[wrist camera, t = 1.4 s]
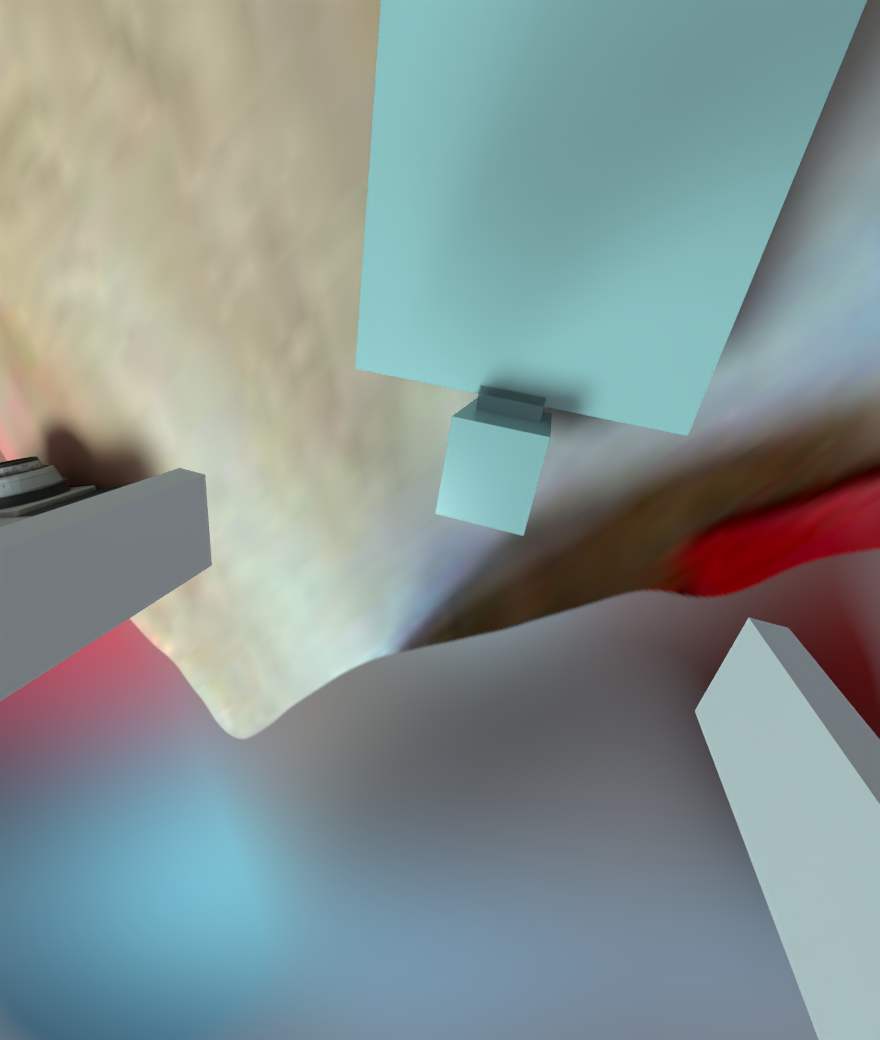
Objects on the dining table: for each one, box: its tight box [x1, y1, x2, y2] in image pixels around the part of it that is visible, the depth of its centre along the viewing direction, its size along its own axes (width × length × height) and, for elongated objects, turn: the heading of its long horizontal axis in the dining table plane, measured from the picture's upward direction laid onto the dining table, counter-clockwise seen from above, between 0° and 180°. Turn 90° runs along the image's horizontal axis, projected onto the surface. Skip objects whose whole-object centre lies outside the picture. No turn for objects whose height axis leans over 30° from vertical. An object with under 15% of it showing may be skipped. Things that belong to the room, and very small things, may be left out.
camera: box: [0, 457, 121, 527], centre depth 35 cm, size 14×8×10 cm, turn 99°
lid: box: [355, 0, 867, 536], centre depth 17 cm, size 23×15×6 cm, turn 171°
